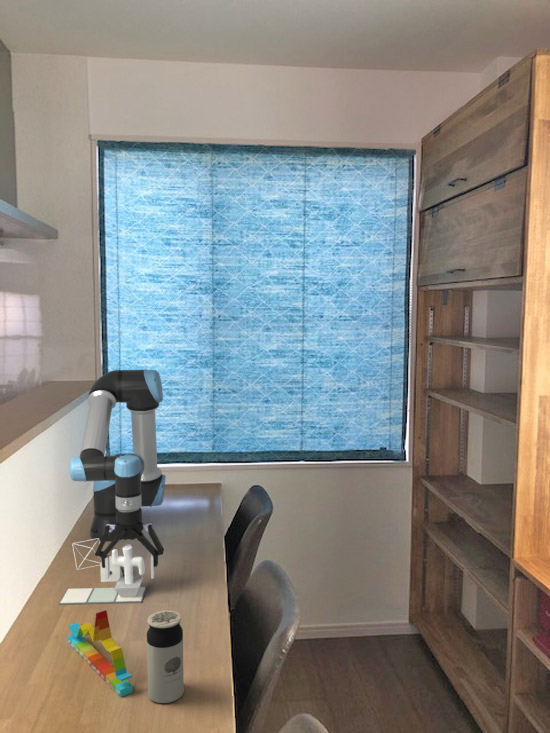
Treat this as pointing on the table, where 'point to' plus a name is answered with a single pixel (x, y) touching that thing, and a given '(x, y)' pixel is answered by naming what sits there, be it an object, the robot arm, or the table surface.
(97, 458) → the robot arm
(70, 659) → the table surface
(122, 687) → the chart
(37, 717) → the table surface
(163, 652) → the travel mug
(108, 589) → the game mat
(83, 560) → the geometric polyhedron
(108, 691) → the table surface
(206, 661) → the table surface
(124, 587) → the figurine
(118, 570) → the die
